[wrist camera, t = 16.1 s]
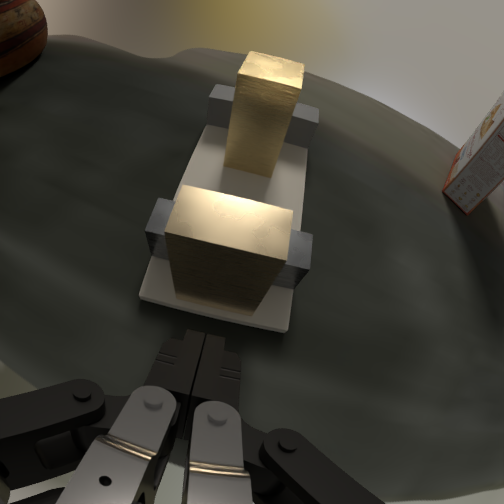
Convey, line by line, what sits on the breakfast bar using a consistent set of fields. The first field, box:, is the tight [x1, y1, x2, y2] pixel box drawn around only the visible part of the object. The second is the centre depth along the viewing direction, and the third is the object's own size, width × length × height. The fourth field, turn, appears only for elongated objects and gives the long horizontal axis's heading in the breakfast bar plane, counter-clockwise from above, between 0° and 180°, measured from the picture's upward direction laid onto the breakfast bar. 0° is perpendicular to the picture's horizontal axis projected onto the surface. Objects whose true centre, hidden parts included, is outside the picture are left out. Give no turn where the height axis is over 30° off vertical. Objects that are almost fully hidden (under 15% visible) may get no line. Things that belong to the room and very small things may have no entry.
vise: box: [139, 84, 319, 333], centre depth 27 cm, size 12×24×5 cm, turn 170°
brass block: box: [223, 51, 305, 178], centre depth 26 cm, size 5×5×11 cm
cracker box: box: [442, 91, 504, 215], centre depth 30 cm, size 14×6×21 cm, turn 139°
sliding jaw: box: [145, 185, 313, 316], centre depth 20 cm, size 12×6×10 cm, turn 80°
